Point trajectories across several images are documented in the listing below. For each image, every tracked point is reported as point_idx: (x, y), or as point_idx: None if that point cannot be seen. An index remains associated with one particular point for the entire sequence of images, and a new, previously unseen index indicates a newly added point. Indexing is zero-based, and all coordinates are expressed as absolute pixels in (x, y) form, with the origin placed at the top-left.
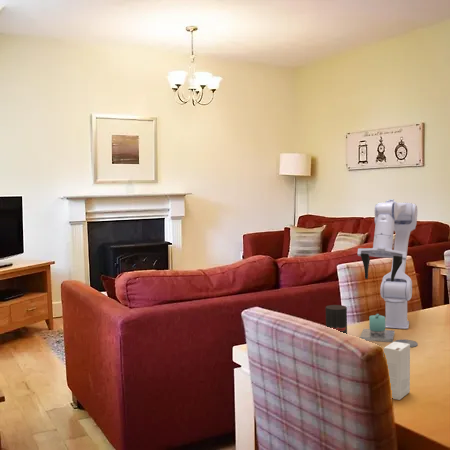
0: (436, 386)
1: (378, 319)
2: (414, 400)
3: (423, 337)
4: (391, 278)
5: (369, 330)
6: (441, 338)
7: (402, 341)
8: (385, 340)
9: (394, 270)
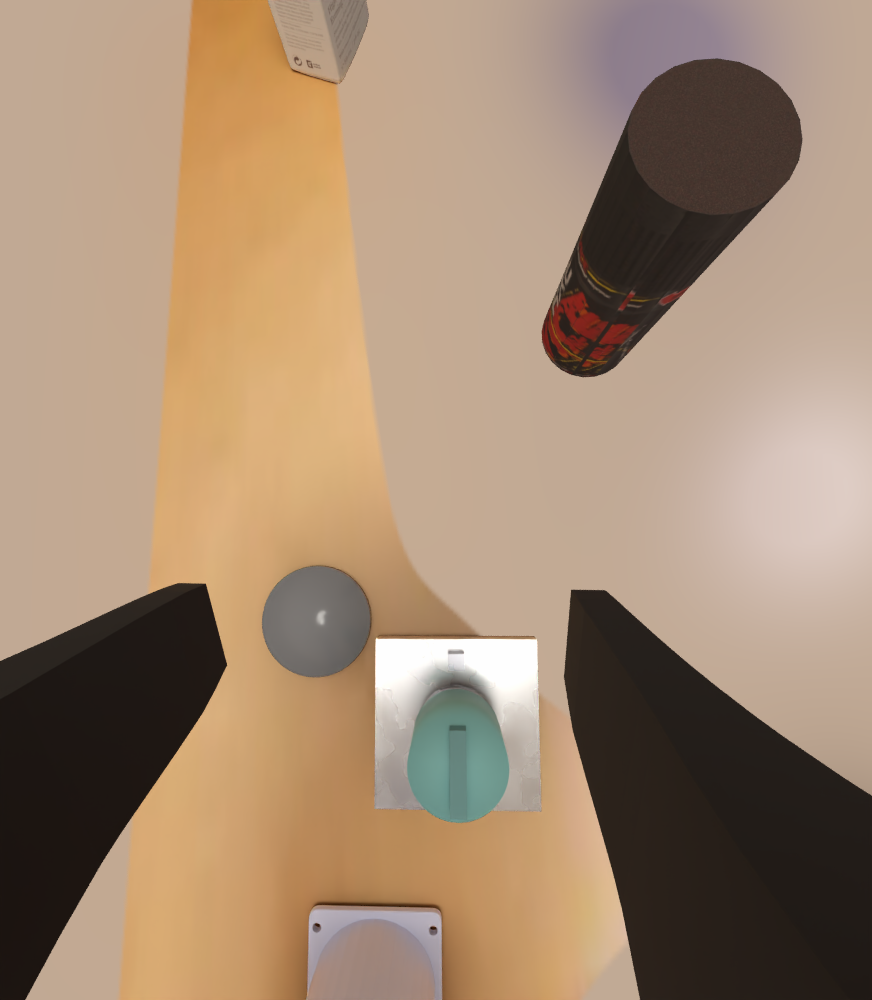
0: (208, 148)
1: (445, 715)
2: None
3: (236, 761)
4: (186, 589)
5: None
6: None
7: (330, 640)
8: (410, 636)
9: (20, 655)
